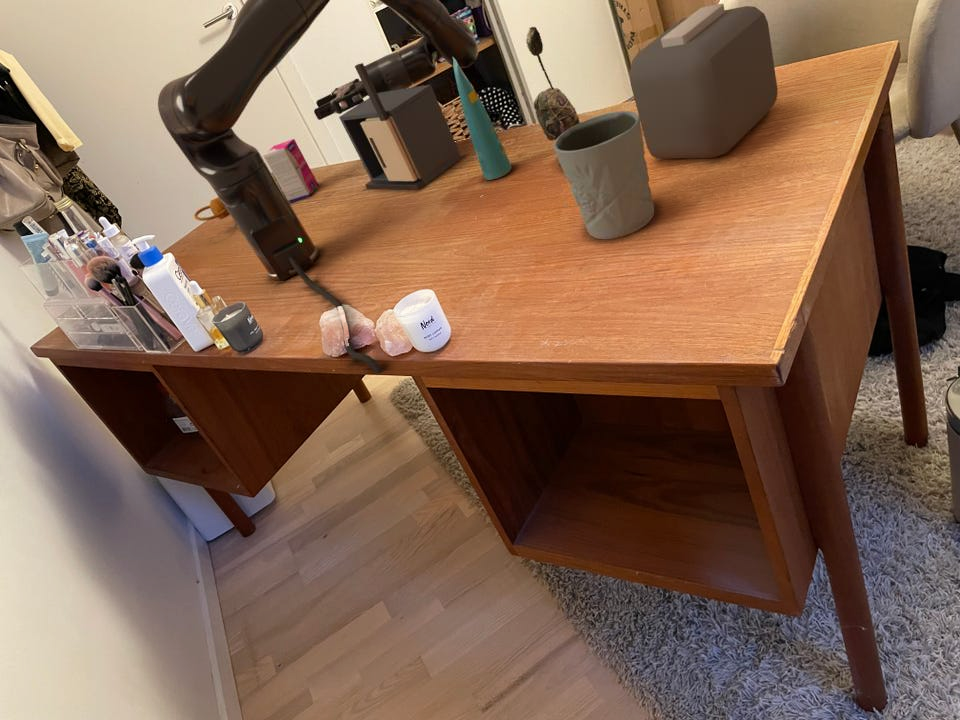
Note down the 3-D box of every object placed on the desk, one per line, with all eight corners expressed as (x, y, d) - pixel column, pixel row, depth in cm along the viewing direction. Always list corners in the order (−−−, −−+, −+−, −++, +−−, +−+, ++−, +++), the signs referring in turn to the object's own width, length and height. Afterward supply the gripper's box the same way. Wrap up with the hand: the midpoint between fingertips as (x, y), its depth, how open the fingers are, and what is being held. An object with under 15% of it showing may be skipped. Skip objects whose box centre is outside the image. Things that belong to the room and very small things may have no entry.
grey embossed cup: (567, 240, 87) (536, 153, 80) (610, 198, 92) (584, 113, 85) (635, 244, 80) (606, 149, 73) (678, 198, 84) (655, 105, 78)
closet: (418, 190, 125) (383, 115, 117) (366, 188, 138) (332, 121, 130) (461, 158, 130) (430, 84, 122) (407, 159, 143) (376, 93, 135)
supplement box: (310, 196, 150) (283, 148, 144) (289, 203, 152) (261, 156, 146) (320, 184, 154) (294, 137, 148) (299, 192, 156) (272, 145, 150)
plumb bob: (283, 188, 167) (194, 233, 153) (271, 152, 161) (178, 196, 148) (305, 195, 162) (216, 242, 148) (294, 158, 156) (200, 204, 142)
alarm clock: (713, 110, 101) (691, 1, 93) (788, 105, 93) (771, -16, 85) (652, 166, 94) (622, 54, 86) (727, 165, 86) (702, 41, 78)
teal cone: (516, 173, 112) (472, 56, 102) (490, 185, 113) (443, 71, 102) (506, 161, 119) (463, 51, 108) (480, 173, 119) (435, 64, 109)
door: (413, 181, 125) (358, 65, 113) (388, 181, 131) (333, 71, 120) (417, 179, 125) (362, 62, 114) (391, 179, 132) (337, 68, 120)
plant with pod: (539, 179, 106) (493, 51, 96) (571, 145, 113) (531, 21, 102) (585, 174, 101) (541, 37, 91) (615, 138, 108) (578, 6, 97)
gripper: (377, 54, 147) (309, 87, 148) (378, 65, 135) (305, 100, 136) (392, 88, 151) (326, 119, 152) (395, 101, 139) (324, 135, 140)
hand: (317, 110), depth 144 cm, fingers open, 8 cm apart
